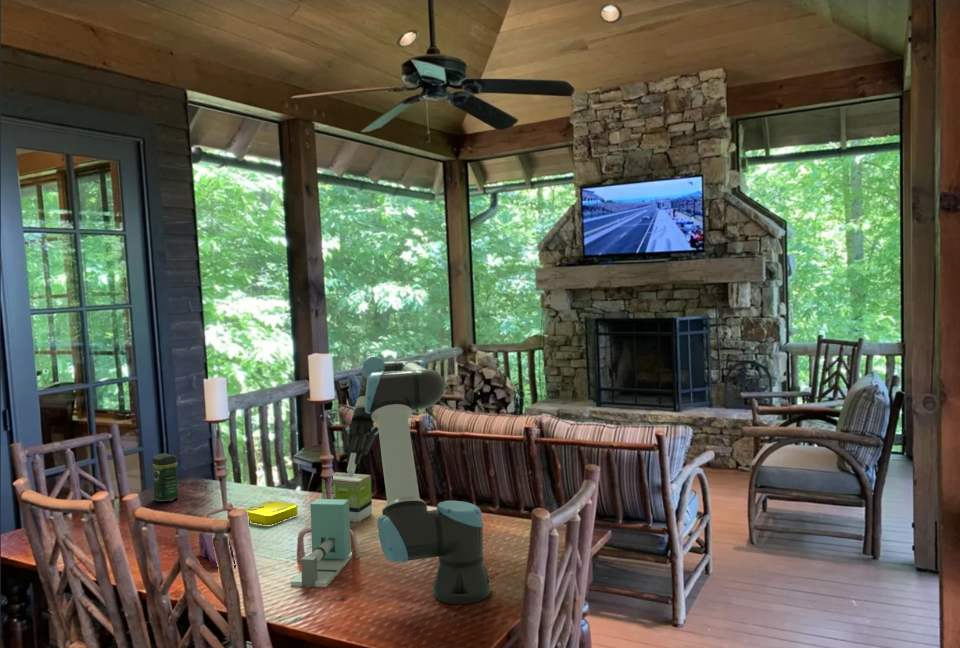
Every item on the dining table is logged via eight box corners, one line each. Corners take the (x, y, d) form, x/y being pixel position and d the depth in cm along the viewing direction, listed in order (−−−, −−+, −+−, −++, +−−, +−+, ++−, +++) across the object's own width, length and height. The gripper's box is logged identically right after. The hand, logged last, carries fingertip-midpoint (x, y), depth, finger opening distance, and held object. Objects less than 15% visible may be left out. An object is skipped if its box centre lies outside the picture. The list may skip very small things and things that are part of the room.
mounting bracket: (244, 580, 205) (229, 539, 218) (247, 558, 202) (231, 519, 215) (211, 588, 200) (198, 546, 213) (213, 566, 196) (200, 525, 209)
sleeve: (318, 551, 205) (316, 499, 204) (350, 552, 203) (348, 499, 203) (312, 557, 200) (310, 503, 199) (344, 558, 198) (343, 504, 198)
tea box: (321, 519, 242) (320, 478, 242) (336, 511, 252) (335, 471, 251) (359, 522, 237) (358, 480, 237) (372, 514, 247) (371, 473, 246)
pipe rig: (324, 553, 209) (323, 528, 209) (355, 553, 208) (354, 528, 207) (290, 586, 185) (289, 558, 185) (325, 587, 184) (325, 559, 183)
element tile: (268, 528, 235) (267, 515, 235) (238, 522, 242) (238, 509, 242) (300, 516, 248) (299, 503, 248) (271, 510, 255) (270, 498, 255)
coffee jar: (181, 499, 272) (180, 453, 271) (161, 504, 266) (160, 457, 265) (170, 495, 278) (168, 450, 277) (151, 500, 272) (149, 454, 271)
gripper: (385, 418, 237) (373, 478, 221) (349, 418, 239) (333, 478, 223) (381, 406, 232) (367, 466, 216) (343, 406, 234) (327, 466, 218)
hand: (350, 472), depth 219 cm, fingers closed
